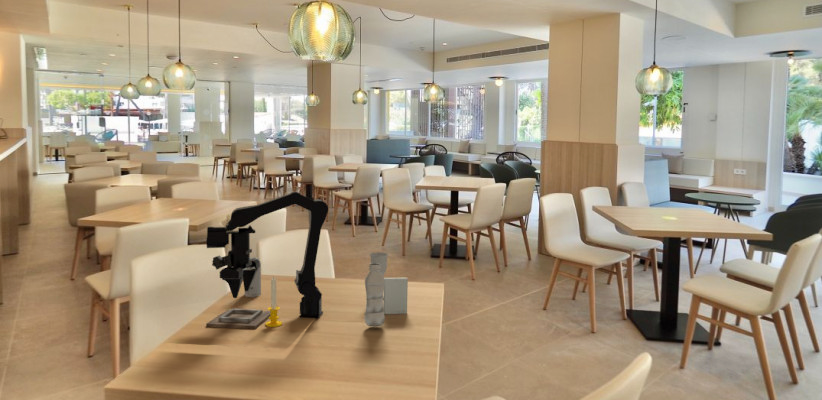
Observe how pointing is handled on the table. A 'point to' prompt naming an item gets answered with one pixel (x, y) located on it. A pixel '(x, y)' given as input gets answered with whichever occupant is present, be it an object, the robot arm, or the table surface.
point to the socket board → (240, 319)
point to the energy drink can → (255, 284)
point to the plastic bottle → (374, 296)
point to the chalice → (380, 261)
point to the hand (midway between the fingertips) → (240, 294)
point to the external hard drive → (395, 295)
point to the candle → (273, 307)
